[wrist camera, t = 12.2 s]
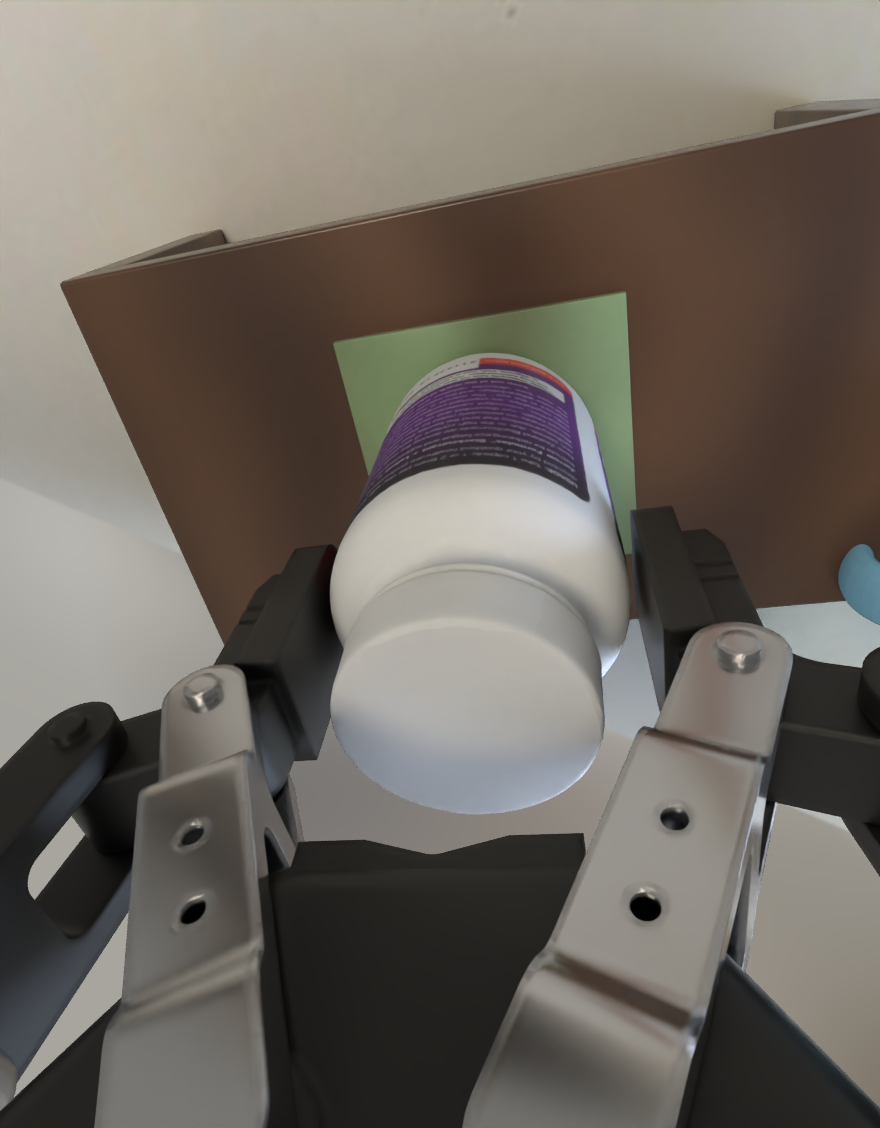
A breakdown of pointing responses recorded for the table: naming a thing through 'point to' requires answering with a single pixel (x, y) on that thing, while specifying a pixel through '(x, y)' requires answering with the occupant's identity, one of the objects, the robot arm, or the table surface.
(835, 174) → the shelf
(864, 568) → the teapot
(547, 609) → the pill bottle
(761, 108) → the table surface
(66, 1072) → the robot arm
